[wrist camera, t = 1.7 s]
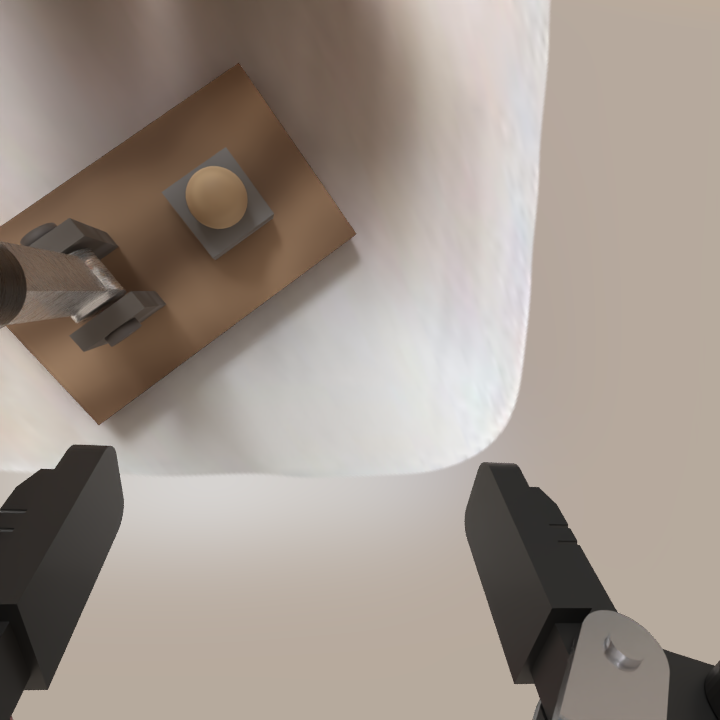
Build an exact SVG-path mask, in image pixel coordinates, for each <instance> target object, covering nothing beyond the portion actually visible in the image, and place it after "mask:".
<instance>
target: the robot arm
mask: <svg viewBox="0 0 720 720" xmlns="http://www.w3.org/2000/svg"><path fill="white" fill-rule="evenodd" d="M123 508H124V499H123V492H122V486H121V480H120V473H119V467H118V461H117V455H116V451H115V449H114V447H112V446H97V445H72V446H71V447H70V448H69V449H68V450H67V451H66V453H65V454H64V456H63V457H62V459H61V460H60V462H59V463H58V465H57V466H56V468H55V469H40V470H39V471H37V472H36V473H35V474H33V475H32V476H31V477H29V478H28V479H27V480H25V481H24V482H23V483H21V484H20V485H18V486H17V487H16V488H15V490H14V491H13V492H12V494H11V495H10V496H9V498H8V499H7V500H6V502H5V503H4V504H3V506H2V507H1V508H0V720H13V718H12V716H11V715H12V713H13V711H14V709H15V707H16V705H17V703H18V701H19V699H20V697H21V695H22V693H23V690H48V688H49V686H50V683H51V681H52V679H53V676H54V674H55V672H56V670H57V668H58V665H59V663H60V661H61V658H62V656H63V654H64V652H65V650H66V647H67V645H68V643H69V641H70V638H71V636H72V634H73V631H74V629H75V627H76V625H77V622H78V620H79V618H80V616H81V613H82V611H83V609H84V606H85V604H86V602H87V600H88V598H89V595H90V593H91V591H92V589H93V586H94V584H95V582H96V579H97V577H98V574H99V573H100V570H101V568H102V566H103V564H104V561H105V559H106V557H107V555H108V552H109V550H110V548H111V545H112V543H113V541H114V539H115V537H116V534H117V532H118V530H119V527H120V524H121V520H122V516H123ZM465 531H466V536H467V539H468V543H469V546H470V548H471V552H472V555H473V558H474V561H475V564H476V567H477V571H478V574H479V576H480V580H481V583H482V586H483V589H484V592H485V595H486V598H487V601H488V604H489V607H490V610H491V614H492V616H493V620H494V623H495V626H496V629H497V632H498V635H499V638H500V641H501V644H502V647H503V650H504V653H505V657H506V660H507V663H508V666H509V669H510V672H511V675H512V678H513V681H514V684H535V686H536V689H537V692H538V694H539V697H540V700H539V702H538V704H537V706H536V709H535V712H534V716H533V719H532V720H720V661H719V662H718V663H717V664H716V665H715V666H714V665H710V664H707V663H704V662H701V661H698V660H694V659H691V658H688V657H685V656H682V655H679V654H676V653H673V652H669V651H667V650H664V649H662V648H661V646H660V645H659V643H658V642H657V641H656V639H654V637H653V636H652V635H651V634H650V633H649V632H648V631H647V630H646V629H645V628H644V627H643V626H641V625H640V624H639V623H637V622H636V621H634V620H633V619H631V618H629V617H627V616H625V615H623V614H620V613H618V612H617V610H616V609H615V607H614V605H613V604H612V602H611V600H610V599H609V597H608V595H607V593H606V591H605V590H604V588H603V586H602V584H601V582H600V581H599V579H598V577H597V575H596V573H595V572H594V570H593V568H592V567H591V565H590V563H589V561H588V559H587V558H586V556H585V554H584V552H583V550H582V549H581V547H580V545H577V540H576V538H575V536H574V534H573V533H572V531H571V529H570V528H568V524H567V522H566V520H565V518H564V516H563V515H562V513H561V511H560V509H559V508H558V506H557V504H556V503H554V502H553V501H552V500H551V499H550V498H549V497H548V496H547V495H546V494H545V493H544V492H543V491H542V490H541V489H540V488H539V487H529V485H528V483H527V481H526V479H525V478H524V476H523V474H522V472H521V470H520V468H519V467H518V466H517V465H516V464H514V463H488V462H484V463H482V464H481V465H480V466H479V469H478V472H477V475H476V478H475V482H474V485H473V488H472V491H471V494H470V498H469V501H468V504H467V508H466V512H465Z"/></svg>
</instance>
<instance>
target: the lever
mask: <svg viewBox="0 0 720 720" xmlns="http://www.w3.org/2000/svg"><path fill="white" fill-rule="evenodd" d="M125 293H126V291H125V289H124V288H123V287H122V286H121V285H120V283H119V282H118V281H117V280H116V279H115V278H114V276H113V275H112V274H111V273H110V272H109V270H108V269H107V268H106V267H105V266H104V265H103V263H102V262H101V261H100V260H99V259H98V257H97V256H96V255H95V254H94V253H93V252H92V250H91V249H90V248H83V249H79V250H77V251H74V252H72V253H70V254H64V253H59V252H54V251H49V250H43V249H38V248H33V247H28V246H23V245H18V244H12V243H7V242H2V241H0V328H2V327H4V326H6V325H12V324H19V323H26V322H33V321H40V320H47V319H54V318H61V317H69V316H70V317H71V318H72V319H73V320H74V321H75V322H76V324H82V323H84V322H86V321H88V320H90V319H92V318H93V317H95V316H97V315H98V314H100V313H101V312H103V311H104V310H106V309H107V308H108V307H110V306H111V305H112V304H114V303H115V302H117V301H118V300H119V299H121V298H122V297H123V296H124V295H125Z"/></svg>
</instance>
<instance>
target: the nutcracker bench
mask: <svg viewBox="0 0 720 720" xmlns="http://www.w3.org/2000/svg"><path fill="white" fill-rule="evenodd" d="M355 235H356V233H355V231H354V230H353V228H352V227H351V225H350V224H349V222H348V221H347V220H346V218H345V217H344V215H343V214H342V212H341V211H340V209H339V208H338V206H337V205H336V204H335V202H334V201H333V199H332V198H331V196H330V195H329V193H328V192H327V190H326V189H325V188H324V186H323V185H322V183H321V182H320V180H319V179H318V177H317V176H316V174H315V173H314V172H313V170H312V169H311V167H310V166H309V164H308V163H307V161H306V160H305V158H304V157H303V155H302V154H301V153H300V151H299V150H298V148H297V147H296V145H295V144H294V142H293V141H292V139H291V138H290V137H289V135H288V134H287V132H286V131H285V129H284V128H283V126H282V125H281V123H280V122H279V121H278V119H277V118H276V116H275V115H274V113H273V112H272V110H271V109H270V107H269V106H268V105H267V103H266V102H265V100H264V99H263V97H262V96H261V94H260V93H259V91H258V90H257V89H256V87H255V86H254V84H253V83H252V81H251V80H250V78H249V77H248V75H247V74H246V72H245V71H244V70H243V68H242V67H241V65H240V64H239V63H238V64H236V65H235V66H233V67H232V68H230V69H229V70H228V71H226V72H225V73H223V74H222V75H220V76H219V77H217V78H216V79H214V80H213V81H212V82H210V83H209V84H207V85H206V86H204V87H203V88H201V89H200V90H198V91H197V92H196V93H194V94H193V95H191V96H190V97H188V98H187V99H185V100H184V101H182V102H181V103H180V104H178V105H177V106H175V107H174V108H172V109H171V110H169V111H168V112H166V113H165V114H164V115H162V116H161V117H159V118H158V119H156V120H155V121H153V122H152V123H150V124H149V125H148V126H146V127H145V128H143V129H142V130H140V131H139V132H137V133H136V134H134V135H133V136H132V137H130V138H129V139H127V140H126V141H124V142H123V143H121V144H120V145H118V146H117V147H116V148H114V149H113V150H111V151H110V152H108V153H107V154H105V155H104V156H102V157H101V158H100V159H98V160H97V161H95V162H94V163H92V164H91V165H89V166H88V167H86V168H85V169H84V170H82V171H81V172H79V173H78V174H76V175H75V176H73V177H72V178H70V179H69V180H68V181H66V182H65V183H63V184H62V185H60V186H59V187H57V188H56V189H54V190H53V191H52V192H50V193H49V194H47V195H46V196H44V197H43V198H41V199H40V200H38V201H37V202H36V203H34V204H33V205H31V206H30V207H28V208H27V209H25V210H24V211H22V212H21V213H20V214H18V215H17V216H15V217H14V218H12V219H11V220H9V221H8V222H6V223H5V224H4V225H2V226H1V227H0V241H2V242H7V243H12V244H18V245H23V246H28V247H33V248H38V249H43V250H49V251H54V252H59V253H64V254H70V253H72V252H74V251H77V250H79V249H83V248H90V249H91V250H92V252H93V253H94V254H95V255H96V256H97V257H98V259H99V260H100V261H101V262H102V263H103V265H104V266H105V267H106V268H107V269H108V270H109V272H110V273H111V274H112V275H113V276H114V278H115V279H116V280H117V281H118V282H119V283H120V285H121V286H122V287H123V288H124V289H125V291H126V293H125V295H124V296H123V297H122V298H121V299H119V300H118V301H117V302H115V303H114V304H112V305H111V306H110V307H108V308H107V309H106V310H104V311H103V312H101V313H100V314H98V315H97V316H95V317H93V318H92V319H90V320H88V321H86V322H84V323H82V324H76V322H75V321H74V320H73V319H72V318H71V317H70V316H69V317H61V318H54V319H47V320H40V321H33V322H26V323H19V324H12V325H6V326H7V327H8V328H9V330H10V331H11V332H12V333H13V334H14V335H15V336H16V337H17V338H18V339H19V340H20V341H21V342H22V343H23V345H24V346H25V347H26V348H27V349H28V350H29V351H30V352H31V353H32V354H33V355H34V356H35V357H36V358H37V360H38V361H39V362H40V363H41V364H42V365H43V366H44V367H45V368H46V369H47V370H48V371H49V372H50V373H51V374H52V376H53V377H54V378H55V379H56V380H57V381H58V382H59V383H60V384H61V385H62V386H63V387H64V388H65V389H66V391H67V392H68V393H69V394H70V395H71V396H72V397H73V398H74V399H75V400H76V401H77V402H78V403H79V404H80V405H81V407H82V408H83V409H84V410H85V411H86V412H87V413H88V414H89V415H90V416H91V417H92V418H93V419H94V420H95V422H96V423H97V424H98V425H100V424H101V423H102V422H104V421H105V420H107V419H108V418H109V417H111V416H112V415H113V414H115V413H116V412H117V411H119V410H120V409H121V408H123V407H124V406H125V405H127V404H128V403H129V402H131V401H132V400H134V399H135V398H136V397H138V396H139V395H140V394H142V393H143V392H144V391H146V390H147V389H148V388H150V387H151V386H152V385H154V384H155V383H156V382H158V381H159V380H160V379H162V378H163V377H165V376H166V375H167V374H169V373H170V372H171V371H173V370H174V369H175V368H177V367H178V366H179V365H181V364H182V363H183V362H185V361H186V360H187V359H189V358H190V357H191V356H193V355H194V354H196V353H197V352H198V351H200V350H201V349H202V348H204V347H205V346H206V345H208V344H209V343H210V342H212V341H213V340H214V339H216V338H217V337H218V336H220V335H221V334H222V333H224V332H225V331H227V330H228V329H229V328H231V327H232V326H233V325H235V324H236V323H237V322H239V321H240V320H241V319H243V318H244V317H245V316H247V315H248V314H249V313H251V312H252V311H254V310H255V309H256V308H258V307H259V306H260V305H262V304H263V303H264V302H266V301H267V300H268V299H270V298H271V297H272V296H274V295H275V294H276V293H278V292H279V291H280V290H282V289H283V288H285V287H286V286H287V285H289V284H290V283H291V282H293V281H294V280H295V279H297V278H298V277H299V276H301V275H302V274H303V273H305V272H306V271H307V270H309V269H310V268H311V267H313V266H314V265H316V264H317V263H318V262H320V261H321V260H322V259H324V258H325V257H326V256H328V255H329V254H330V253H332V252H333V251H334V250H336V249H337V248H338V247H340V246H341V245H342V244H344V243H345V242H347V241H348V240H349V239H351V238H352V237H353V236H355Z"/></svg>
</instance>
